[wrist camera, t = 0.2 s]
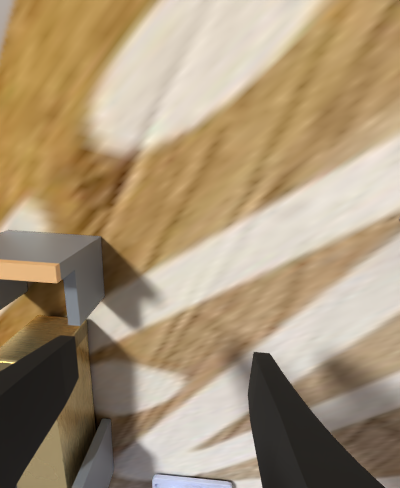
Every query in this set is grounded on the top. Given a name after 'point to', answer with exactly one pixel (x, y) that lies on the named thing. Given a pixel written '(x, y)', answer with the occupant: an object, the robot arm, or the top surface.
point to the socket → (53, 268)
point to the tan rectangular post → (73, 414)
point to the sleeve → (97, 460)
